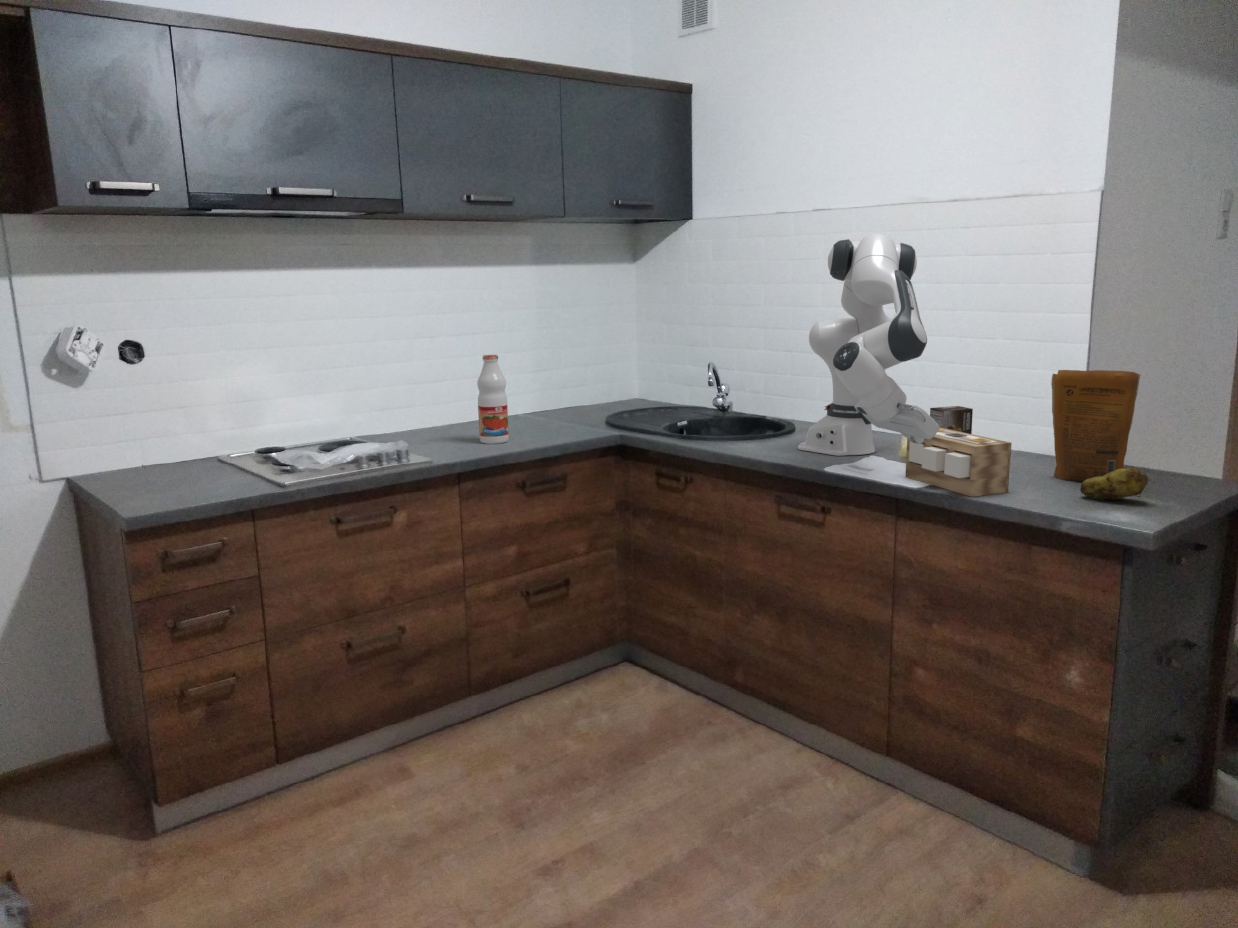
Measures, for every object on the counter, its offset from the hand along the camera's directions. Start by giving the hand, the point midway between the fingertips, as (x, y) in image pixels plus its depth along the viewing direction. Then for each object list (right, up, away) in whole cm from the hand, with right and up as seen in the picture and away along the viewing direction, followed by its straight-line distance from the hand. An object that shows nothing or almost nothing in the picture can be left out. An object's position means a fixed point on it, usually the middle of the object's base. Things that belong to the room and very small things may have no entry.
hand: (918, 441), depth 210 cm
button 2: (+14, -8, +7) cm, 17 cm away
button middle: (+11, -6, +14) cm, 19 cm away
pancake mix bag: (+47, -10, +17) cm, 51 cm away
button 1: (+10, -5, +23) cm, 25 cm away
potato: (+44, -14, -2) cm, 46 cm away
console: (+14, -10, +17) cm, 24 cm away
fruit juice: (-110, +2, +86) cm, 139 cm away
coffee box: (+20, -6, +37) cm, 42 cm away
